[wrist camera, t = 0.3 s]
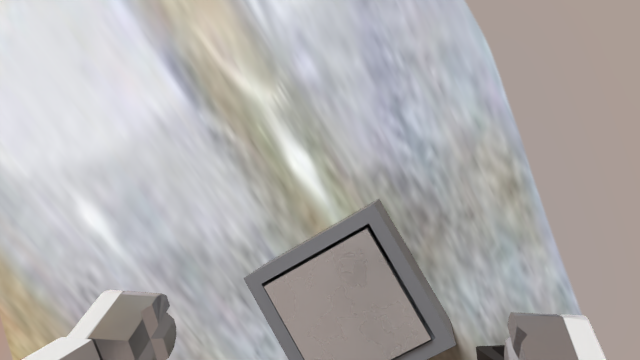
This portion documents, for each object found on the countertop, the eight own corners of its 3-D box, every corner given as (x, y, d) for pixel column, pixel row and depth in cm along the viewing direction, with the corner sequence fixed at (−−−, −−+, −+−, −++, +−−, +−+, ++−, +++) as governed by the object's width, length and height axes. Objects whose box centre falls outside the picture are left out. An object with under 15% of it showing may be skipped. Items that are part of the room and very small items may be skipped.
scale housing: (451, 323, 63) (458, 348, 54) (332, 383, 66) (320, 417, 57) (378, 198, 64) (373, 204, 55) (265, 263, 67) (243, 278, 58)
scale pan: (444, 359, 55) (445, 363, 53) (338, 411, 57) (336, 416, 56) (367, 227, 56) (366, 228, 55) (266, 284, 58) (263, 286, 57)
